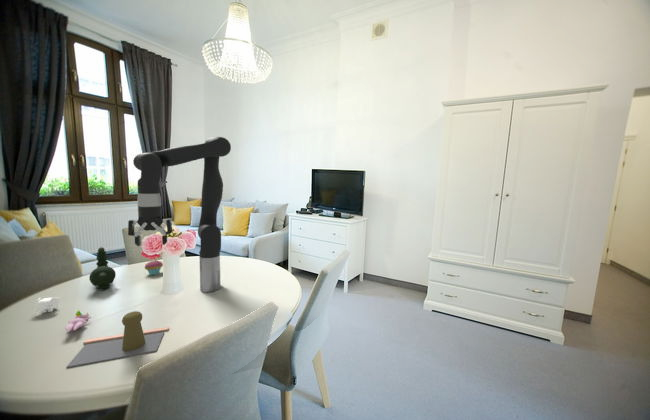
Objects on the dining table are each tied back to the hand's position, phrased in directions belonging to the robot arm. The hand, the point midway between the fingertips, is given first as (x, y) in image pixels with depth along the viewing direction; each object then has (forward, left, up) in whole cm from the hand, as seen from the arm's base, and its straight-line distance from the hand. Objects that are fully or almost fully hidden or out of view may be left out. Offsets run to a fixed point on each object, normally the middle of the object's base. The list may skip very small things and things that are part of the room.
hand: (151, 244), depth 99 cm
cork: (0, +23, -28) cm, 36 cm away
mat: (+4, +23, -28) cm, 37 cm away
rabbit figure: (+23, +5, -28) cm, 37 cm away
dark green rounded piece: (+30, -35, -28) cm, 54 cm away
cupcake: (+11, -46, -28) cm, 55 cm away
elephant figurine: (+39, -12, -28) cm, 50 cm away
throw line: (+4, +16, -28) cm, 33 cm away
